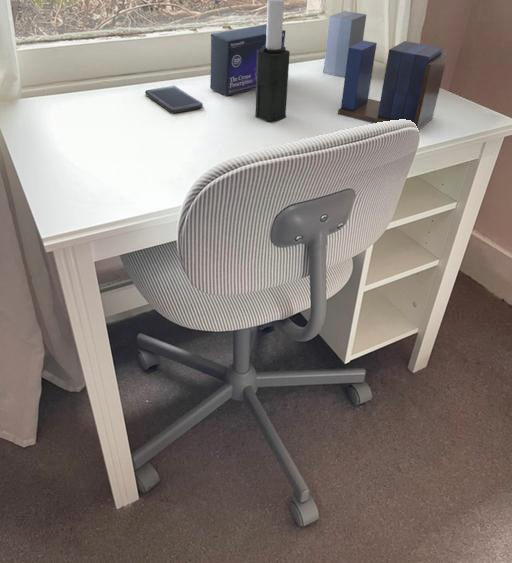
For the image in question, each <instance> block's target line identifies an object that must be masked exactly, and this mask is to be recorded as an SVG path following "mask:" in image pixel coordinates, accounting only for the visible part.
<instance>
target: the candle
mask: <svg viewBox="0 0 512 563" xmlns="http://www.w3.org/2000/svg"><path fill="white" fill-rule="evenodd" d="M284 3H285V0H267V4H266V5H267V8H266V24H267V31H266V45H263V46H262V48H261V49H260V50H258V51H257V73H256V89H255V110H254V112H255V113H254V116H255V118H257V119H261V120H262V121H265V122H267V123H275V122H278V121H280V120H283V119H285V118H286V115H287V99H288V84H289V69H290V55H291V54H290V50H288V49H287V48H286V46H285V45H284V46H281V43H282V30H283V24H284V23H283V22H284V5H285V4H284Z"/></svg>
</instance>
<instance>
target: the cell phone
mask: <svg viewBox="0 0 512 563" xmlns="http://www.w3.org/2000/svg"><path fill="white" fill-rule="evenodd" d="M144 93H145V95H146V96H148V98H150V99H151V100H153V101H154V102H155V103H157V104H159V105H160V106H161V107H162V108H164V109H165V110H167V111H168V112H170V113H172V114H177V113H182V112H188V111H193V110H197V109H201V108H203V107H204V105H203V102H201V101H200V100H198V99H196V98H195V97H193V96H192V95H190V94H188V92H186V91H183V90H182V89H180V87H178V86H175V85H169V86H164V87H157V88H152V89H145V92H144Z"/></svg>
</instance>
